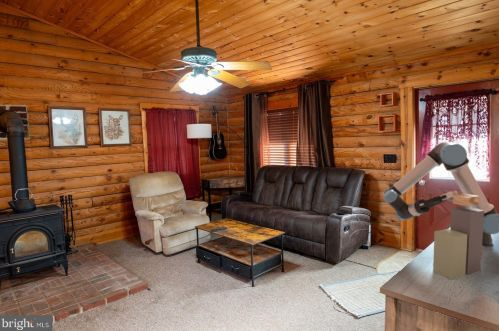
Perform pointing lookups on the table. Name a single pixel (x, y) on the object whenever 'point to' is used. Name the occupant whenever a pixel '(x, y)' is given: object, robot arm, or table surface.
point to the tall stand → (470, 234)
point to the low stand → (450, 253)
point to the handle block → (464, 199)
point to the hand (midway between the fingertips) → (454, 193)
